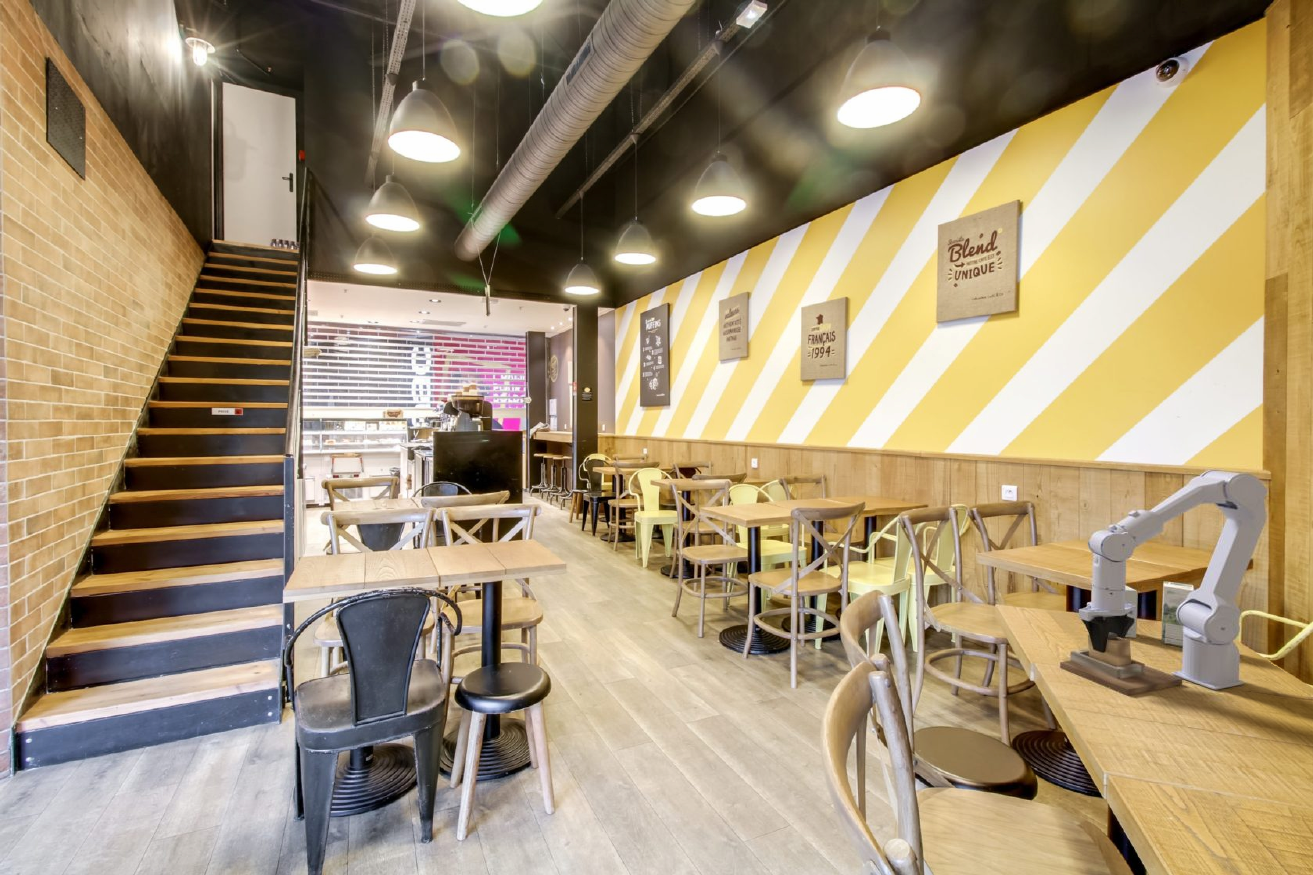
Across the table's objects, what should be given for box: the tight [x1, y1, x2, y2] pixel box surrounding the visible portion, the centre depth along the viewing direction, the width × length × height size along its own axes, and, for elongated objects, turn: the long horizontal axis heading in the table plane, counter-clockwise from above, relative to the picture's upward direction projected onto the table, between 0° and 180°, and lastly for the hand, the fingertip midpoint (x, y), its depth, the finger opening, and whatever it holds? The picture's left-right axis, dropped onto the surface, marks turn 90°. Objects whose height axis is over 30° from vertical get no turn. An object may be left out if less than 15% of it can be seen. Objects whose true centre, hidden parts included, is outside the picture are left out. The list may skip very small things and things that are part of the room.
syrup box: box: [1161, 580, 1195, 648], centre depth 147 cm, size 6×6×14 cm
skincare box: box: [1125, 585, 1138, 639], centre depth 153 cm, size 6×4×12 cm
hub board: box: [1059, 648, 1183, 696], centre depth 128 cm, size 16×14×3 cm
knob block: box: [1087, 632, 1132, 667], centre depth 129 cm, size 4×6×6 cm
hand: (1106, 649), depth 130 cm, fingers closed on knob block, 4 cm apart
